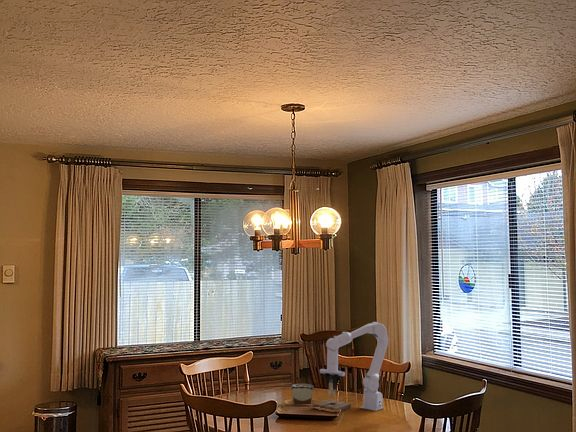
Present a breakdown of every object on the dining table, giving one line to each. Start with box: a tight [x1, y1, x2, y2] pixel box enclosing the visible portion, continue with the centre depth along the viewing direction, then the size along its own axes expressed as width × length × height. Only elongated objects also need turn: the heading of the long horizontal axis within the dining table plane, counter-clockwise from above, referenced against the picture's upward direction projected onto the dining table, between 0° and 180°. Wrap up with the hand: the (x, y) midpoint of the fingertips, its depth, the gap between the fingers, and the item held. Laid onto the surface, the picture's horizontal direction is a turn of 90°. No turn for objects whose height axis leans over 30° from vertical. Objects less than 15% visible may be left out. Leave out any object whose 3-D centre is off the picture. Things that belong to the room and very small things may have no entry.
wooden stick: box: [328, 380, 336, 398], centre depth 310 cm, size 2×2×8 cm
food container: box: [290, 383, 315, 405], centre depth 319 cm, size 12×6×10 cm, turn 84°
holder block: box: [312, 399, 352, 413], centre depth 309 cm, size 14×14×2 cm
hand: (332, 388), depth 310 cm, fingers closed on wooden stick, 2 cm apart
